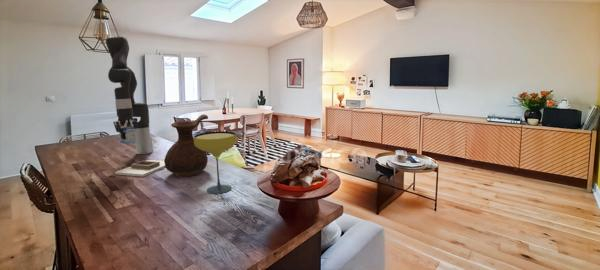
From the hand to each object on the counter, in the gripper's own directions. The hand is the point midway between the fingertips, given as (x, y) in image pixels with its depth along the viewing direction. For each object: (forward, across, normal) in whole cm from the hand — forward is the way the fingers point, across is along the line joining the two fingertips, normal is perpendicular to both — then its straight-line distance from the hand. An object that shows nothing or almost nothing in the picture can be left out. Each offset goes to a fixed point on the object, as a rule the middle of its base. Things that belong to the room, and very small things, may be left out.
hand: (128, 138), depth 175 cm
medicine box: (+3, 0, 0) cm, 3 cm away
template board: (+17, -3, +7) cm, 19 cm away
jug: (+18, -3, +35) cm, 39 cm away
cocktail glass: (+18, +14, +64) cm, 68 cm away
